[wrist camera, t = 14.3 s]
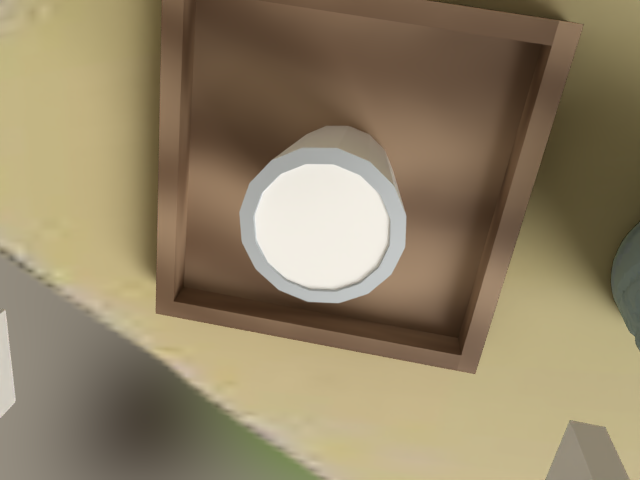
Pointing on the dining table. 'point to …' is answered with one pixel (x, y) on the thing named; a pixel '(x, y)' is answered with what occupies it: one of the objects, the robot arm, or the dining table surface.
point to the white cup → (325, 217)
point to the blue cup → (628, 281)
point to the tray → (384, 127)
